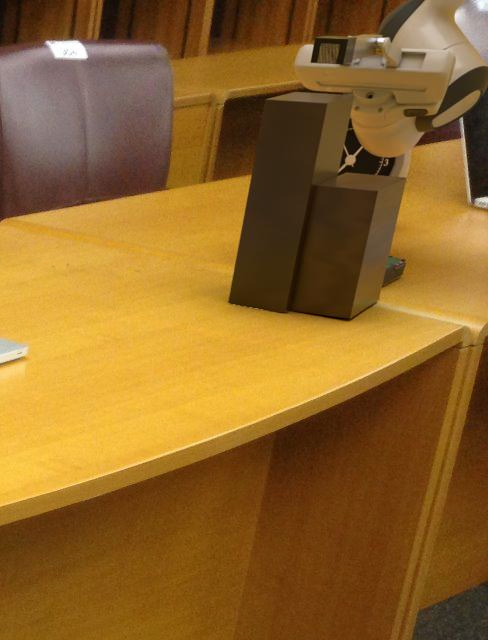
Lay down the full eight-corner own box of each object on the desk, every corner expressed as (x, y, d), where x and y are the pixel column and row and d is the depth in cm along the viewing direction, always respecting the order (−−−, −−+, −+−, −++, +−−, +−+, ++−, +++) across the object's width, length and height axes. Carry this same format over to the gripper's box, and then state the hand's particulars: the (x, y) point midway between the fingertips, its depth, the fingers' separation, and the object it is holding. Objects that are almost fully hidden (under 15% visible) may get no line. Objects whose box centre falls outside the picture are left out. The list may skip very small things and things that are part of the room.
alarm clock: (275, 226, 255) (305, 98, 245) (271, 217, 262) (300, 92, 252) (392, 236, 250) (427, 106, 241) (384, 226, 257) (418, 99, 248)
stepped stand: (378, 300, 207) (425, 96, 196) (345, 321, 196) (392, 107, 185) (265, 285, 216) (303, 89, 204) (227, 305, 205) (265, 99, 193)
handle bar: (384, 54, 208) (389, 30, 206) (343, 64, 194) (348, 39, 193) (353, 52, 210) (358, 29, 209) (310, 62, 196) (315, 37, 195)
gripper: (310, 64, 223) (294, 16, 212) (463, 71, 212) (456, 21, 200) (295, 105, 224) (279, 60, 212) (448, 115, 212) (440, 68, 201)
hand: (366, 41), depth 206 cm, fingers closed on handle bar, 2 cm apart
